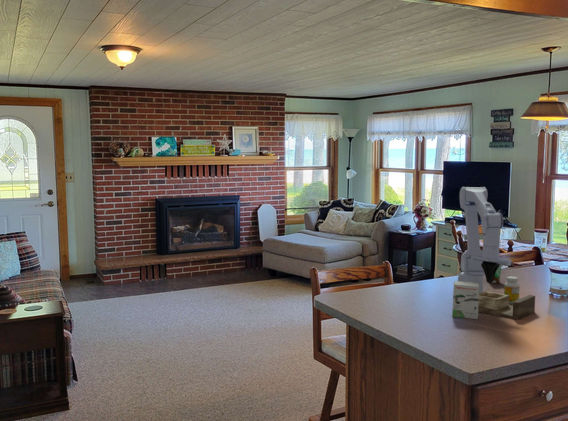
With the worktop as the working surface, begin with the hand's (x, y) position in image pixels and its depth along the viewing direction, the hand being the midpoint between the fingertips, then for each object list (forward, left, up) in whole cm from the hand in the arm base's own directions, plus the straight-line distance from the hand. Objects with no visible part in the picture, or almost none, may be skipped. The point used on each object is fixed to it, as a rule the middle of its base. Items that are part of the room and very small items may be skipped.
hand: (489, 282), depth 202 cm
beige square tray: (+1, 0, -9) cm, 9 cm away
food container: (-18, +44, -10) cm, 48 cm away
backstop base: (+4, 0, -10) cm, 11 cm away
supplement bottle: (+2, +15, -10) cm, 18 cm away
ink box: (-1, -16, -10) cm, 19 cm away
